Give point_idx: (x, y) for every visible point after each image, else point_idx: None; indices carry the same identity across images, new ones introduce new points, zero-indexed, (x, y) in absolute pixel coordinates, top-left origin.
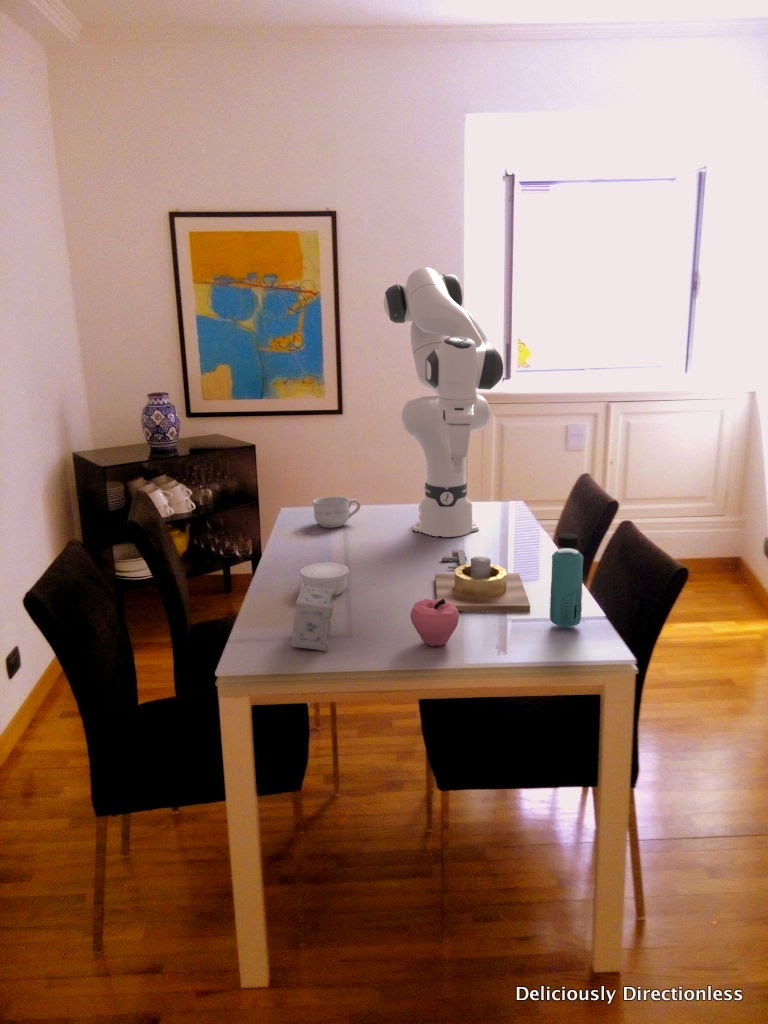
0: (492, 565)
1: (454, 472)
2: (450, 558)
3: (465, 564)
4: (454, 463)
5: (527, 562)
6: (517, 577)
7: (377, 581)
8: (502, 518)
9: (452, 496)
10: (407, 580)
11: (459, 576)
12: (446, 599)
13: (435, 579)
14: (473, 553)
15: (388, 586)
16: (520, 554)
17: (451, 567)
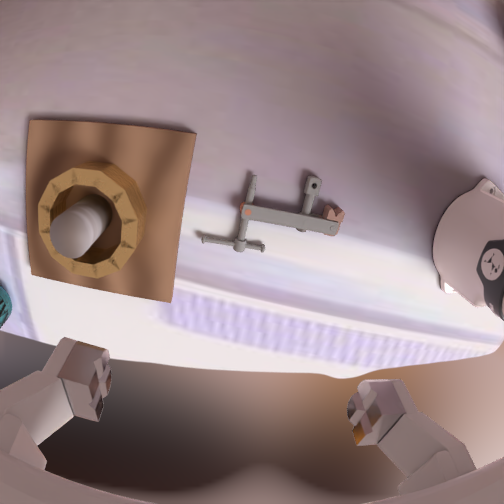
0: (120, 260)
1: (64, 338)
2: (307, 195)
3: (241, 215)
4: (21, 385)
5: (259, 331)
6: (149, 294)
7: (214, 11)
8: (463, 332)
9: (489, 278)
10: (205, 72)
11: (59, 175)
12: (51, 138)
13: (186, 132)
14: (340, 253)
15: (177, 29)
16: (304, 330)
17: (251, 183)
